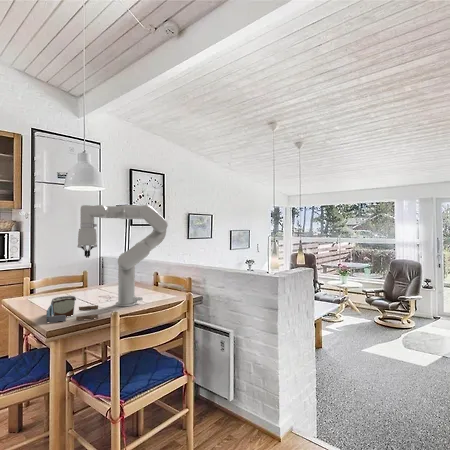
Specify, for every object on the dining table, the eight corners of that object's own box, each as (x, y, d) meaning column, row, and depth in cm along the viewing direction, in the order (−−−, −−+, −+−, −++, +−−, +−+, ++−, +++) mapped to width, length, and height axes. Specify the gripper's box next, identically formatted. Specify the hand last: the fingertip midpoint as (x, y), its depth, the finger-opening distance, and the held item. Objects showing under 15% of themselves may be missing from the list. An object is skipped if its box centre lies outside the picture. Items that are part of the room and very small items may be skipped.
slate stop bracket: (69, 311, 179) (69, 300, 179) (65, 321, 161) (65, 309, 161) (52, 313, 176) (52, 302, 176) (46, 323, 158) (46, 310, 158)
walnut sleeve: (98, 308, 186) (98, 305, 186) (97, 318, 165) (97, 314, 165) (79, 310, 182) (79, 306, 182) (76, 320, 162) (76, 316, 162)
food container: (70, 313, 176) (70, 294, 176) (76, 315, 172) (76, 296, 173) (46, 318, 167) (46, 298, 167) (51, 320, 163) (51, 300, 163)
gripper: (100, 226, 197) (100, 256, 197) (73, 226, 191) (73, 257, 191) (101, 226, 190) (100, 257, 190) (72, 226, 184) (72, 258, 184)
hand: (87, 257), depth 190 cm, fingers closed
